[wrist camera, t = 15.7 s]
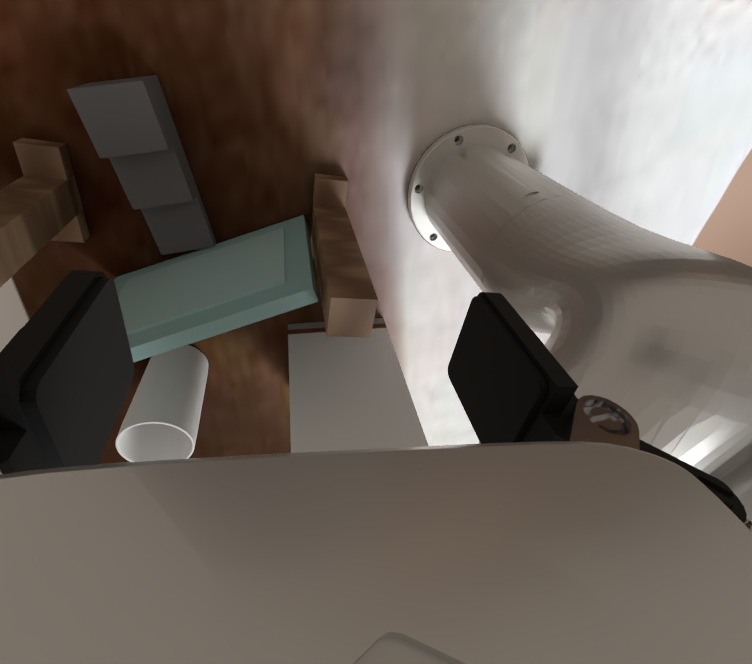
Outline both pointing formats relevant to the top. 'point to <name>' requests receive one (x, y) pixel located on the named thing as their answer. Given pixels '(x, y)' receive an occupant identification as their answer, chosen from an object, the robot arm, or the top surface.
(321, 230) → the door frame
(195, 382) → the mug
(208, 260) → the door
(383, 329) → the white block
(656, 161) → the top surface
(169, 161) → the block
